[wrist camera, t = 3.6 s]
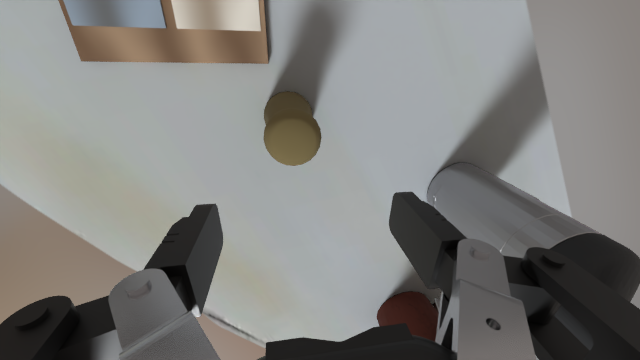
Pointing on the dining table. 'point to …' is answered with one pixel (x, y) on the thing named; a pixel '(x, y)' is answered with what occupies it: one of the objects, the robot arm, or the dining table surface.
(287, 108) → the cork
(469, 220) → the robot arm
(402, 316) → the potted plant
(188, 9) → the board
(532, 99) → the dining table surface
